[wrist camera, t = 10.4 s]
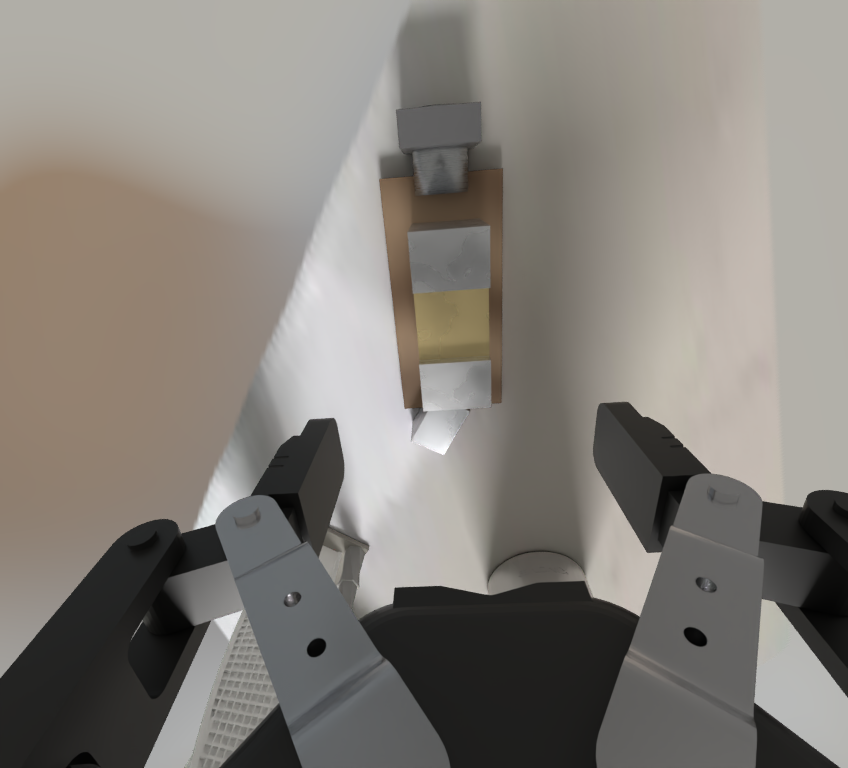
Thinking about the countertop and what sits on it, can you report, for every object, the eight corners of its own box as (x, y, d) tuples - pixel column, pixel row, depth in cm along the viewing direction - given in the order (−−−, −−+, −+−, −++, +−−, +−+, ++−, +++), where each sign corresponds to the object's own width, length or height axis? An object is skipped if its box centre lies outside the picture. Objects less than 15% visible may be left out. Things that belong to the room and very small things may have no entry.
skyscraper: (327, 598, 41) (155, 1277, 15) (250, 565, 39) (-89, 1274, 14) (369, 546, 37) (240, 1293, 12) (287, 508, 36) (-63, 1292, 10)
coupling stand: (499, 432, 32) (507, 463, 28) (409, 437, 32) (406, 468, 29) (500, 108, 23) (513, 93, 19) (374, 119, 23) (364, 107, 19)
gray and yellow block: (479, 218, 24) (490, 225, 20) (481, 372, 29) (491, 407, 24) (411, 223, 24) (407, 232, 20) (424, 376, 29) (423, 411, 24)
